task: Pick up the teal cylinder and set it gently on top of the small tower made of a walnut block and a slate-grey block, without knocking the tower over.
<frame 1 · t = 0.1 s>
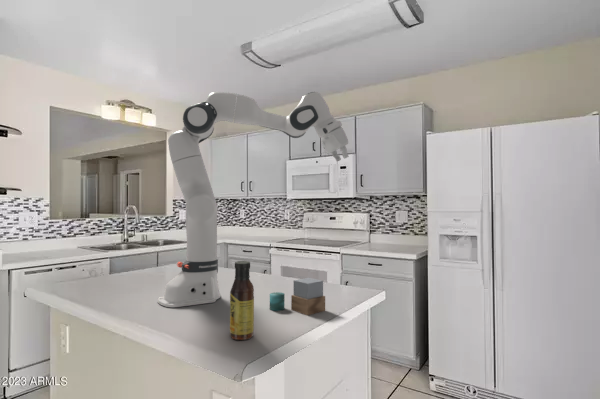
hand: (342, 159, 147), 54 cm above the counter, tool tilted 30°, fingers open, 8 cm apart
sauce bottle: (241, 338, 94), on the counter
slate top block: (308, 295, 119), point 5 cm above the counter, touching walnut base block
walnut base block: (308, 310, 119), on the counter, touching slate top block
teal cylinder: (277, 309, 120), on the counter
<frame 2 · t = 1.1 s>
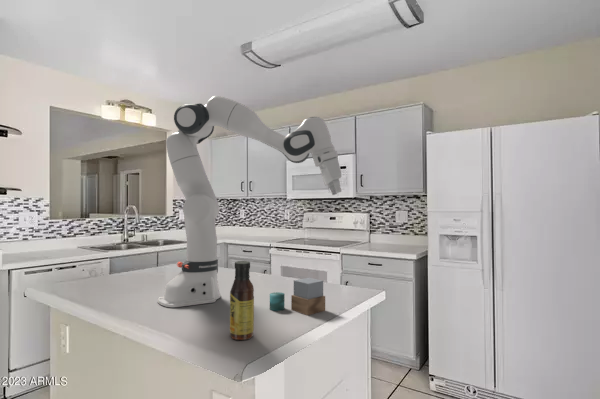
hand: (336, 193, 133), 39 cm above the counter, tool tilted 20°, fingers open, 8 cm apart
nothing on the counter moved.
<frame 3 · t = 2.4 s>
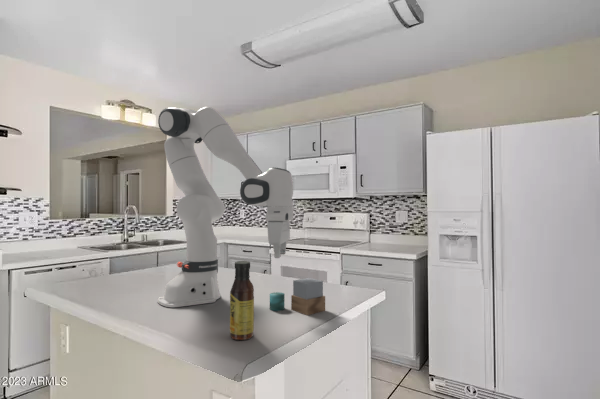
hand: (280, 256, 121), 18 cm above the counter, tool pointing down, fingers open, 8 cm apart
nothing on the counter moved.
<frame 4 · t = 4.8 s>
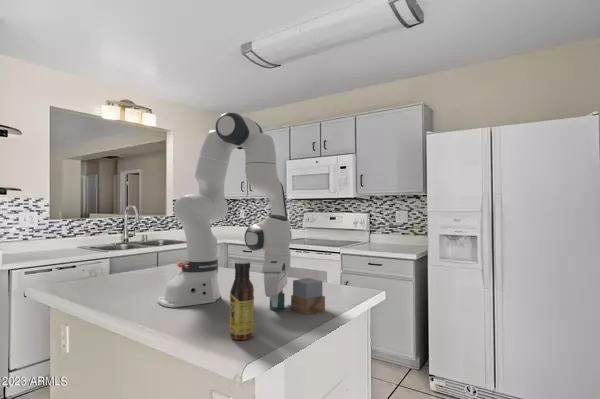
hand: (277, 303, 120), 2 cm above the counter, tool pointing down, fingers closed on teal cylinder, 5 cm apart
teal cylinder: (277, 308, 120), on the counter, touching gripper
everything else where it was.
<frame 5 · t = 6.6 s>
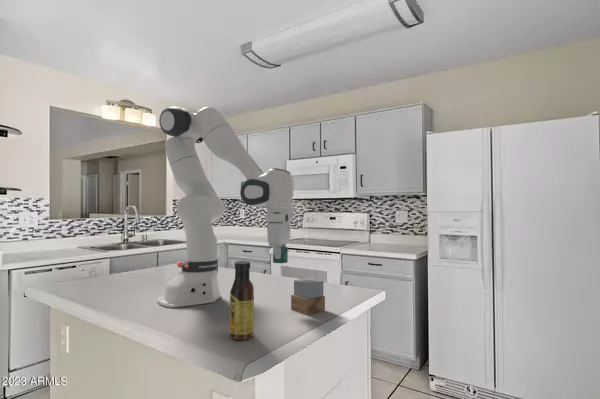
hand: (280, 257, 120), 17 cm above the counter, tool pointing down, fingers closed on teal cylinder, 5 cm apart
teal cylinder: (280, 262, 120), point 16 cm above the counter, touching gripper
everything else where it was.
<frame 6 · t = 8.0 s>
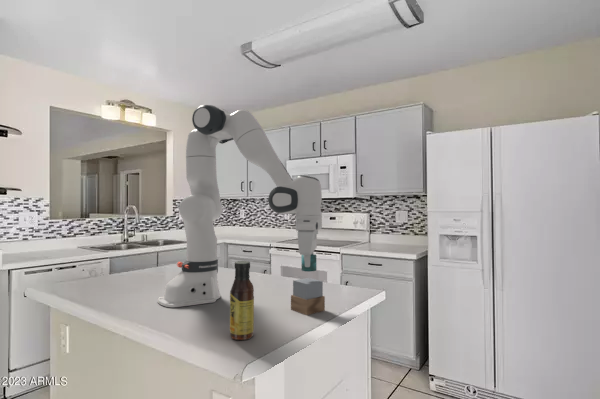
hand: (308, 265, 119), 15 cm above the counter, tool pointing down, fingers closed on teal cylinder, 5 cm apart
teal cylinder: (309, 270, 119), point 13 cm above the counter, touching gripper
everything else where it was.
when the fingers open (14 cm above the counter, at t = 8.6 s): teal cylinder drops 2 cm, resting on slate top block.
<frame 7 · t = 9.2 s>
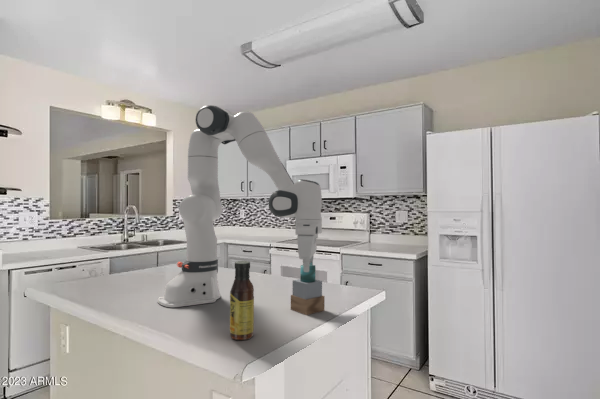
hand: (308, 269, 119), 14 cm above the counter, tool pointing down, fingers open, 8 cm apart
slate top block: (307, 295, 119), point 5 cm above the counter, touching teal cylinder, walnut base block
teal cylinder: (307, 280, 119), point 10 cm above the counter, touching slate top block
everything else where it was.
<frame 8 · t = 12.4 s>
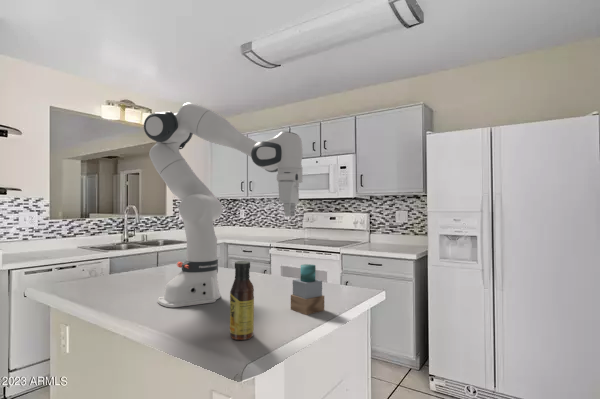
hand: (289, 216, 127), 31 cm above the counter, tool pointing down, fingers open, 8 cm apart
nothing on the counter moved.
at the end: teal cylinder 0.3 cm off-centre on the slate top block, point 5.0 cm above the slate top block's base; slate top block 0.0 cm off-centre on the walnut base block, point 5.0 cm above the walnut base block's base; teal cylinder tilted 0° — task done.
